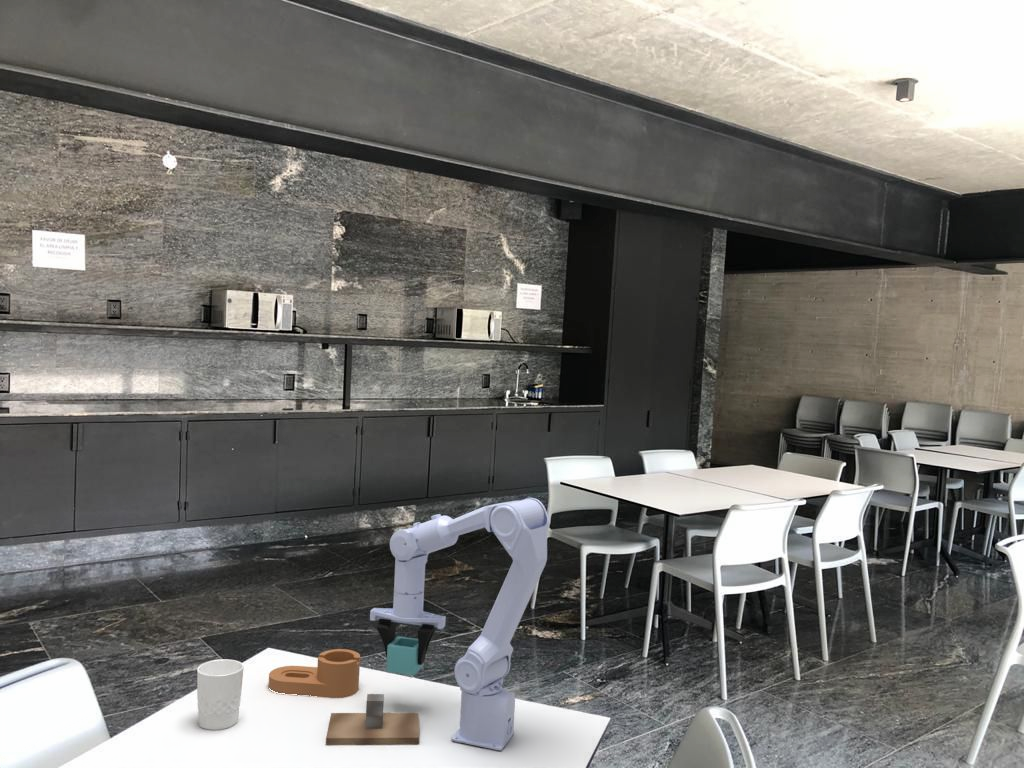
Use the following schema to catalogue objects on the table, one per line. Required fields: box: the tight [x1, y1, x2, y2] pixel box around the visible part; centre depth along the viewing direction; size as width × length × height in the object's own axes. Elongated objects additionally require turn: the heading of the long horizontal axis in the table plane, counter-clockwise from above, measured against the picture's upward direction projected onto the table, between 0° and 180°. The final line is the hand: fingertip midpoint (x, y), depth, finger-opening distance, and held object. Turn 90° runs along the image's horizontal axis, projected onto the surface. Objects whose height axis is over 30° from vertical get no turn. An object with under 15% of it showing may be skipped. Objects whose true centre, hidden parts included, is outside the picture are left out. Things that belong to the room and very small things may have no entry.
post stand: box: [325, 693, 420, 746], centre depth 147 cm, size 16×10×6 cm, turn 97°
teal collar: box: [386, 635, 425, 677], centre depth 157 cm, size 6×6×5 cm
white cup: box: [196, 658, 245, 731], centre depth 147 cm, size 8×8×10 cm
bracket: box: [268, 648, 361, 699], centre depth 165 cm, size 18×8×7 cm, turn 87°
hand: (405, 660), depth 157 cm, fingers closed on teal collar, 6 cm apart
